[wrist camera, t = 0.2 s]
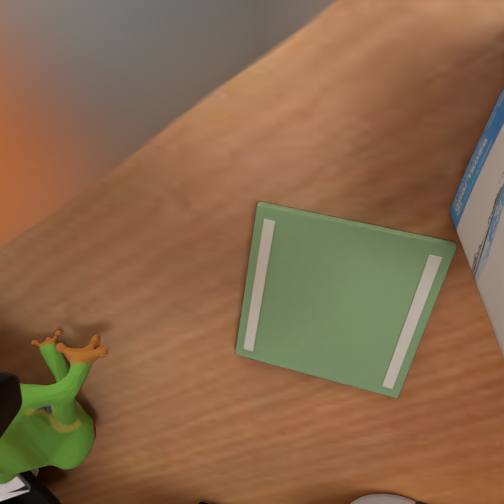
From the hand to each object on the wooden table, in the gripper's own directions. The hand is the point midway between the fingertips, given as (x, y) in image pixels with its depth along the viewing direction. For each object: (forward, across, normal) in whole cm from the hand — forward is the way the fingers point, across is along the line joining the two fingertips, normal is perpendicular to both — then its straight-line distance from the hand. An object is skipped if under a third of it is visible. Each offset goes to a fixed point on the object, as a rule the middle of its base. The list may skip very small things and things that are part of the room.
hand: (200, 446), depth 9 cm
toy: (+12, +17, +12) cm, 24 cm away
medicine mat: (+15, -3, +4) cm, 16 cm away
